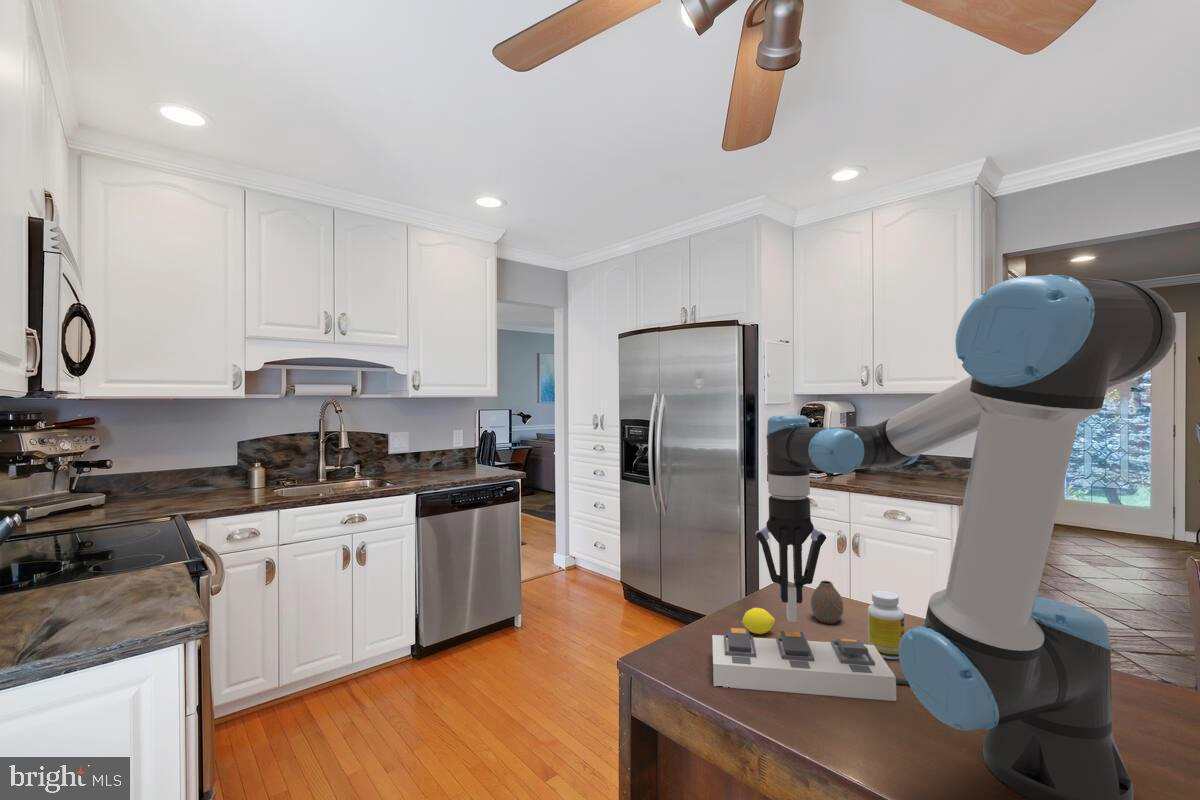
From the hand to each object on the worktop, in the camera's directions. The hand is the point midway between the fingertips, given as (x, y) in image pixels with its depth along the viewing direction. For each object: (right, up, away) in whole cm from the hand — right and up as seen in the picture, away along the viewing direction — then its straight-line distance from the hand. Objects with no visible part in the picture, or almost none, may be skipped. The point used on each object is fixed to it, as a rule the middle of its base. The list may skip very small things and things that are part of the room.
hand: (791, 619), depth 102 cm
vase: (+16, -9, +21) cm, 27 cm away
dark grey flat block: (0, -4, -2) cm, 5 cm away
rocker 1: (-10, -4, 0) cm, 11 cm away
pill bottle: (+20, -9, +4) cm, 23 cm away
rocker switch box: (+5, -9, -5) cm, 11 cm away
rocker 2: (+9, -4, -4) cm, 11 cm away
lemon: (-2, -9, +15) cm, 18 cm away
